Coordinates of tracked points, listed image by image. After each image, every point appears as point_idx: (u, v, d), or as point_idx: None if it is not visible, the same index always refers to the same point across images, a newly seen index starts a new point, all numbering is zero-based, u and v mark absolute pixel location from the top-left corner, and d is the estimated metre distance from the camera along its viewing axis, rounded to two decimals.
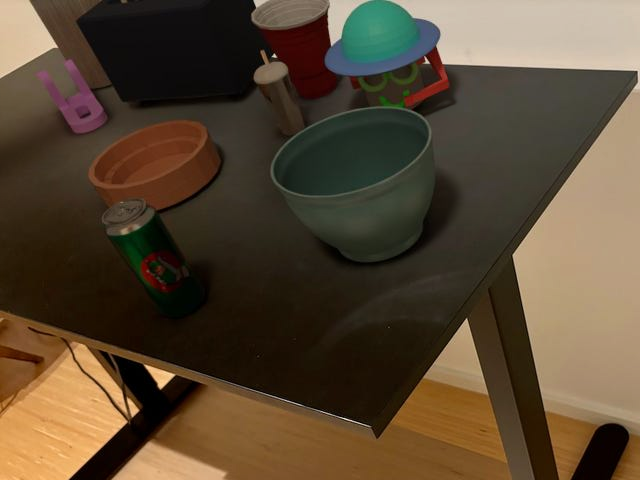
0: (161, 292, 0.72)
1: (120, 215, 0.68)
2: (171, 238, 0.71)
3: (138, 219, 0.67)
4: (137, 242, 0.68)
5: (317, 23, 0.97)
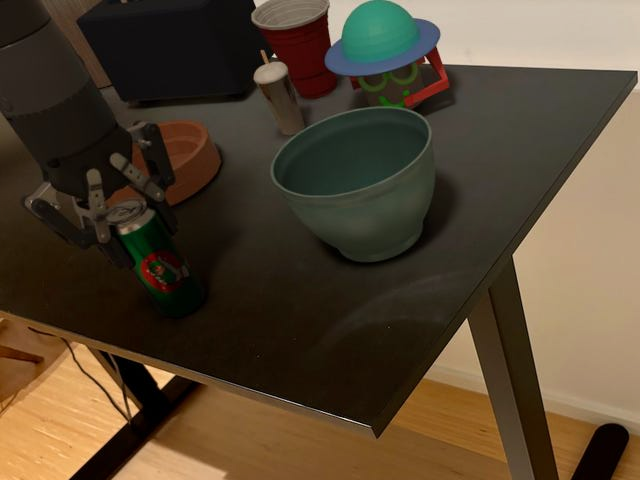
0: (161, 292, 0.72)
1: (120, 215, 0.68)
2: (171, 238, 0.71)
3: (138, 219, 0.67)
4: (137, 242, 0.68)
5: (317, 23, 0.97)
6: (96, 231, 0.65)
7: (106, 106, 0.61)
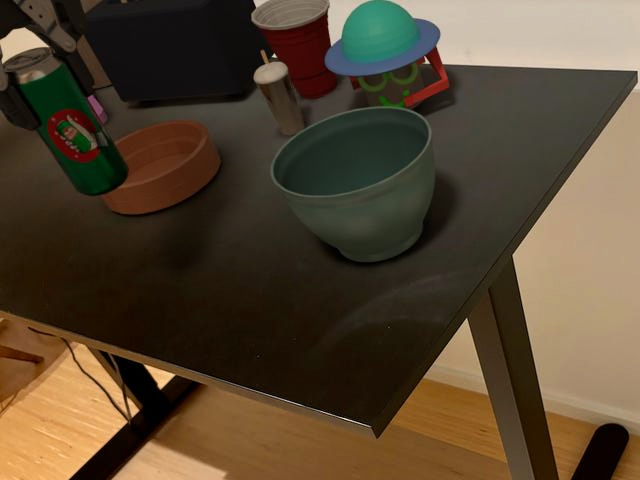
0: (74, 161, 0.63)
1: (21, 62, 0.59)
2: (85, 98, 0.62)
3: (41, 67, 0.58)
4: (40, 95, 0.59)
5: (317, 23, 0.97)
6: None
7: None
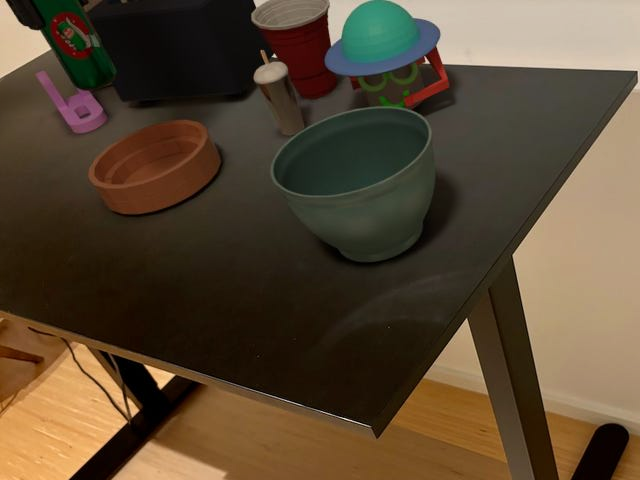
0: (72, 58, 0.78)
1: None
2: (80, 5, 0.77)
3: None
4: None
5: (317, 23, 0.97)
6: None
7: None
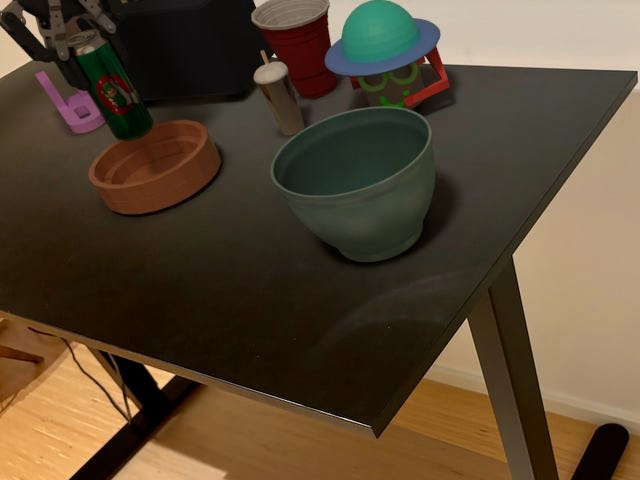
0: (115, 114, 0.86)
1: (78, 40, 0.82)
2: (122, 67, 0.85)
3: (92, 43, 0.81)
4: (92, 64, 0.82)
5: (317, 23, 0.97)
6: (56, 49, 0.79)
7: None
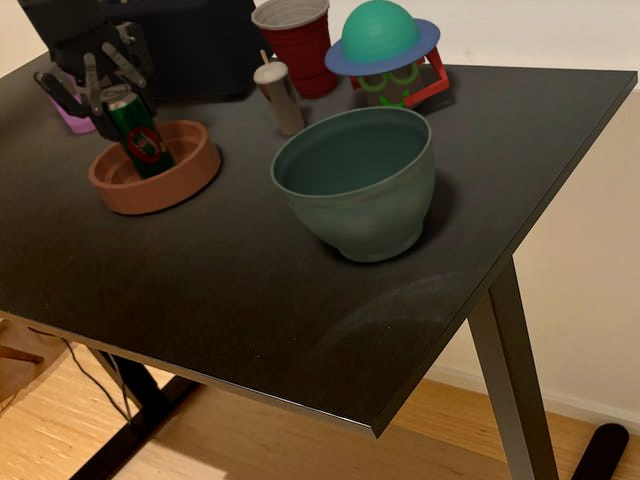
0: (144, 162, 0.91)
1: (110, 95, 0.86)
2: (151, 118, 0.90)
3: (124, 98, 0.86)
4: (123, 117, 0.87)
5: (317, 23, 0.97)
6: (91, 105, 0.84)
7: (99, 3, 0.80)
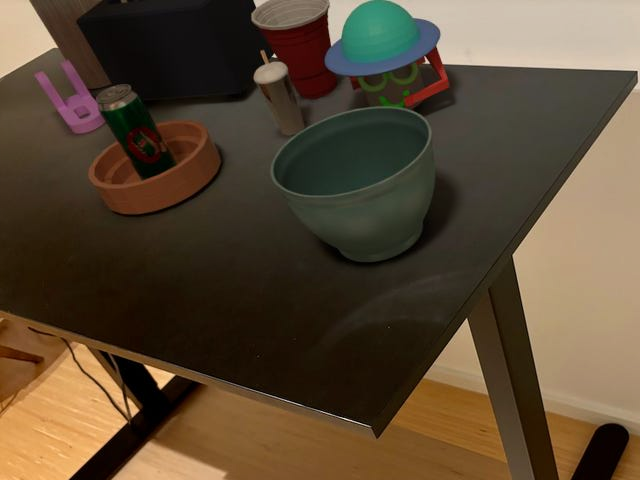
0: (144, 162, 0.91)
1: (110, 95, 0.86)
2: (151, 118, 0.90)
3: (124, 98, 0.86)
4: (123, 117, 0.87)
5: (317, 23, 0.97)
6: None
7: None
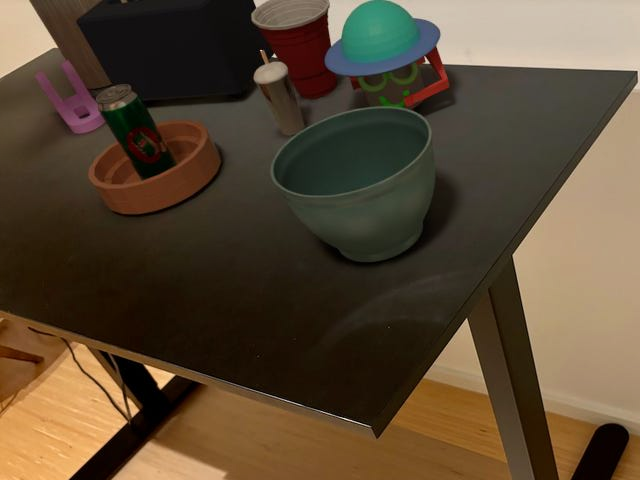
0: (144, 162, 0.91)
1: (110, 95, 0.86)
2: (151, 118, 0.90)
3: (124, 98, 0.86)
4: (123, 117, 0.87)
5: (317, 23, 0.97)
6: None
7: None
